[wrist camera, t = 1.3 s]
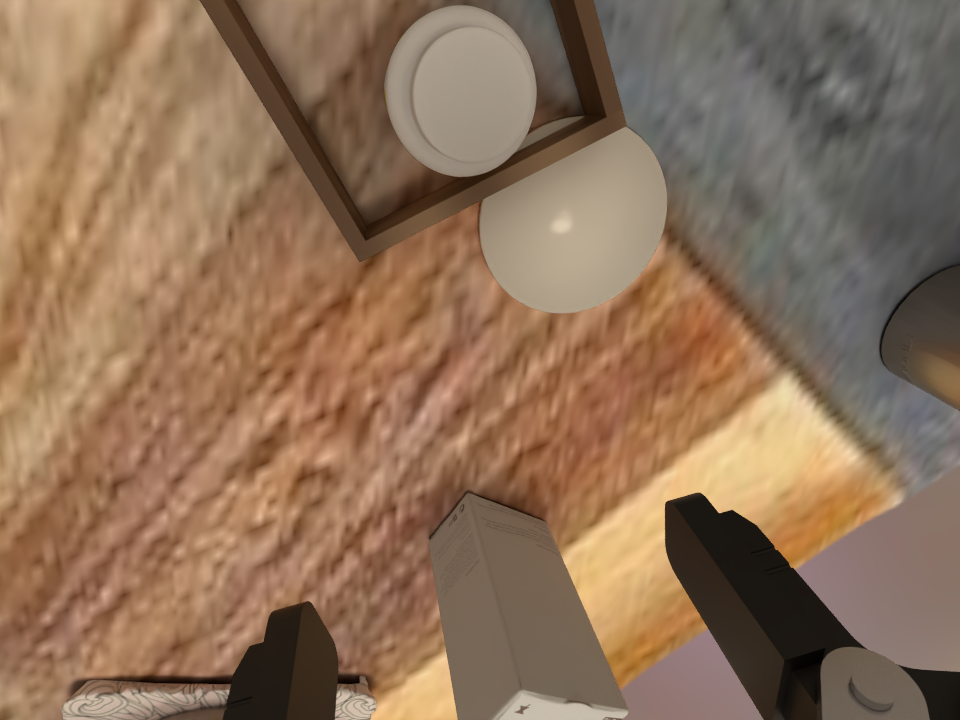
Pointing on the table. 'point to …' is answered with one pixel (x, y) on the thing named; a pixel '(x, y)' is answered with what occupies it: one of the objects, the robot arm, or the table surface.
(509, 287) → the coaster
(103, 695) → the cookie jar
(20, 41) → the table surface
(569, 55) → the wooden frame
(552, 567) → the skincare box
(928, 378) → the robot arm
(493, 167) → the supplement bottle
